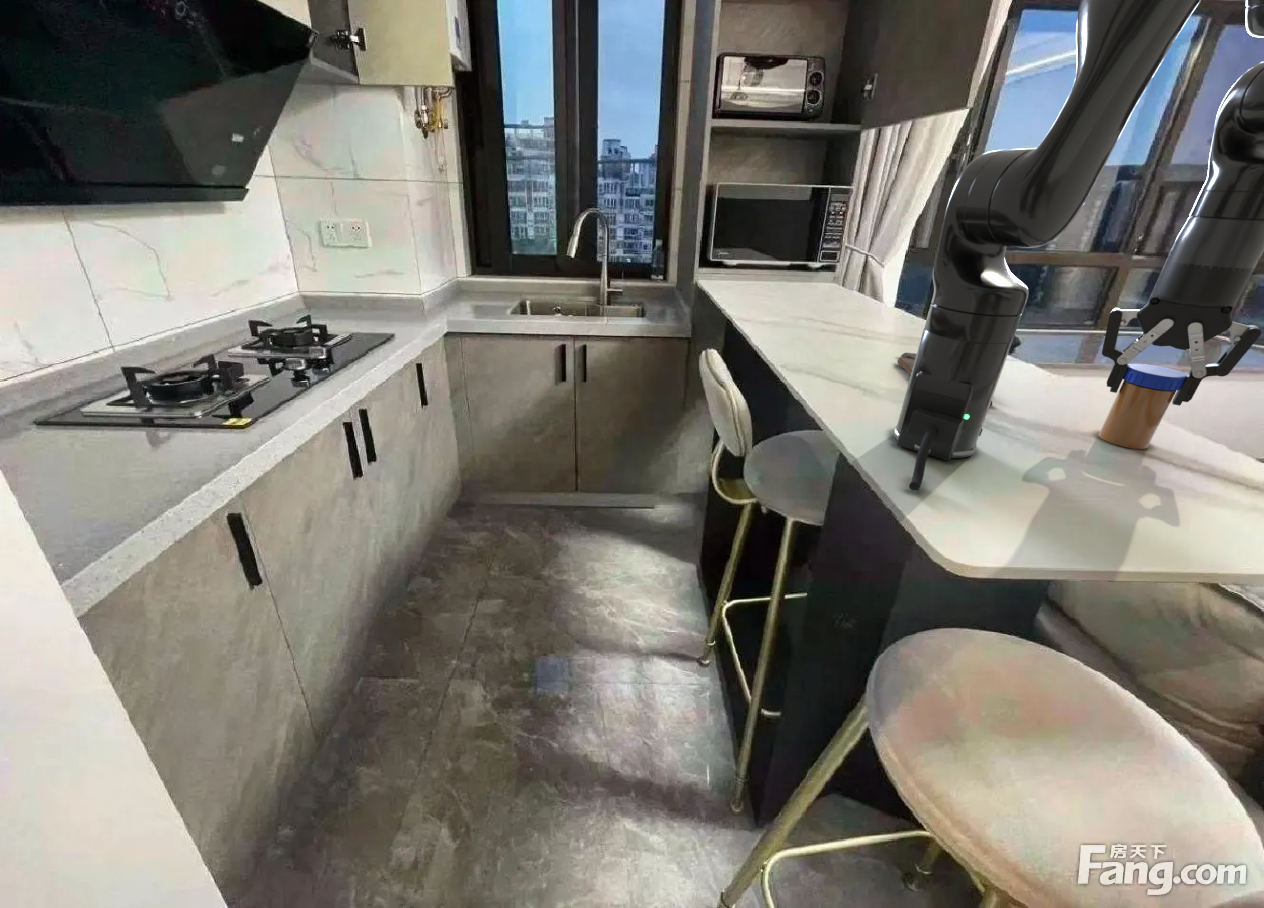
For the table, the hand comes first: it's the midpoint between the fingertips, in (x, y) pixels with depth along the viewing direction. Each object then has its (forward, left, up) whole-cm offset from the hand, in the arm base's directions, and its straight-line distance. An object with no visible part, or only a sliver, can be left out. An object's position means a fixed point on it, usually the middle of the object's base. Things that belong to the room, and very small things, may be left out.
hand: (1144, 396), depth 70 cm
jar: (0, 0, -6) cm, 6 cm away
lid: (0, 0, +3) cm, 3 cm away
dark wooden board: (+9, +26, -7) cm, 28 cm away
